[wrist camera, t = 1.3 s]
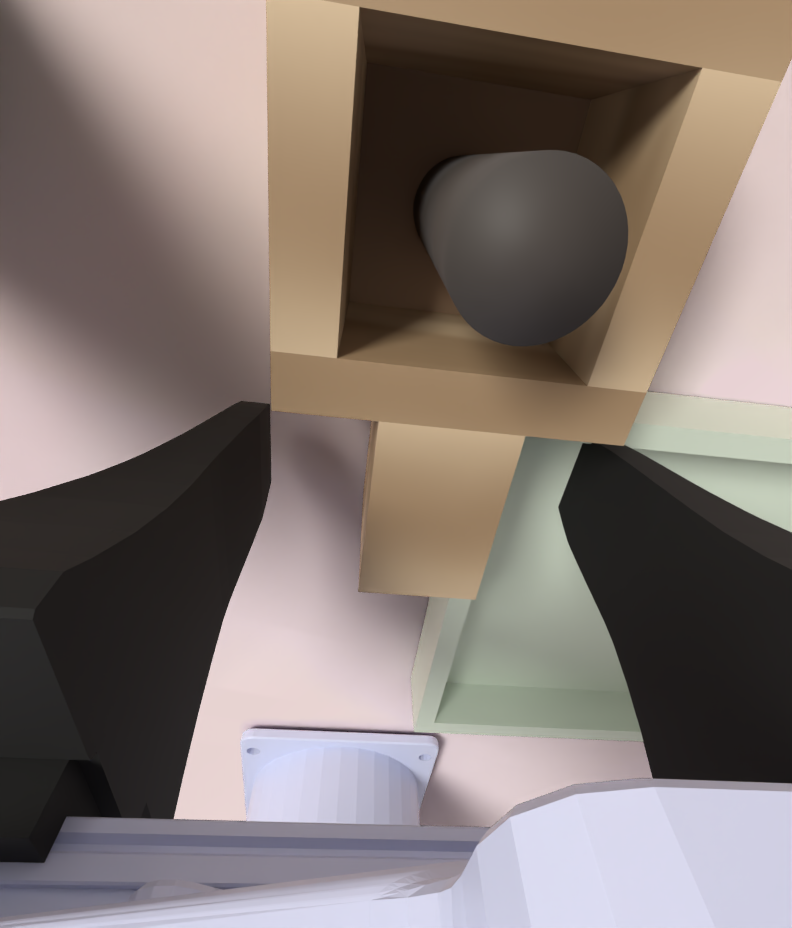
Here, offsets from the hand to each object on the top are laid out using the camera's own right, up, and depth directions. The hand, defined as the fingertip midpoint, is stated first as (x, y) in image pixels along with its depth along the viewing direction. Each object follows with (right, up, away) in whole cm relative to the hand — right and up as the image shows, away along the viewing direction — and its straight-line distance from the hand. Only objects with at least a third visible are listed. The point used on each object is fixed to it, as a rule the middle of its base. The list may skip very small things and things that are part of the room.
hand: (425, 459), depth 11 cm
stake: (+1, +5, -1) cm, 5 cm away
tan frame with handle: (0, +3, -1) cm, 3 cm away
